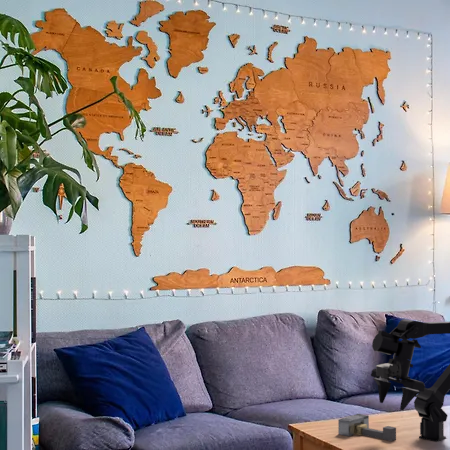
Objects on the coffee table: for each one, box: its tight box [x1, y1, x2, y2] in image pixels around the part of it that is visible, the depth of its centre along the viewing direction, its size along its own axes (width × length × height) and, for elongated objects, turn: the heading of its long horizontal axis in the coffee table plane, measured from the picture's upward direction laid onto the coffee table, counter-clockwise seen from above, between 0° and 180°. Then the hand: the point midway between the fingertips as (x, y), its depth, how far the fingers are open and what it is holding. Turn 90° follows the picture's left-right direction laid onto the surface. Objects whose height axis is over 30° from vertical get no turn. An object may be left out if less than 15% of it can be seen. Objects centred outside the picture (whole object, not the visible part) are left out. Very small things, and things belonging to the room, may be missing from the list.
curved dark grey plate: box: [337, 413, 370, 437], centre depth 242 cm, size 4×12×5 cm, turn 137°
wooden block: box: [354, 423, 367, 436], centre depth 241 cm, size 5×4×3 cm
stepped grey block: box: [361, 425, 397, 442], centre depth 236 cm, size 11×3×4 cm, turn 47°
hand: (391, 406), depth 231 cm, fingers open, 9 cm apart
